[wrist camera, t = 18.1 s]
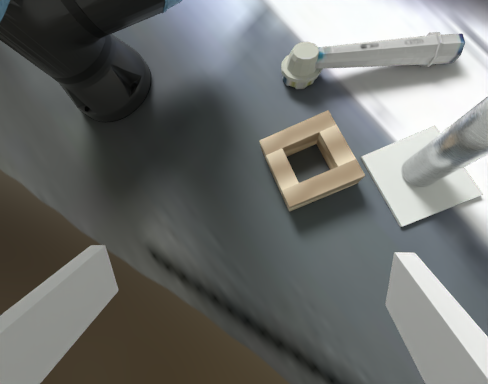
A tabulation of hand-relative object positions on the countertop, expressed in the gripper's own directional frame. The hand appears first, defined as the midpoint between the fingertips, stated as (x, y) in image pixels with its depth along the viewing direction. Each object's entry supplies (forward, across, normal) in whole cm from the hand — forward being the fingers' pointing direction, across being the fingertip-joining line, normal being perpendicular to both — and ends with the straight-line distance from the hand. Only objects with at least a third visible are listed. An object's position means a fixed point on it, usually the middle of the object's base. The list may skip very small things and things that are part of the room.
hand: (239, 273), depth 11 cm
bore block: (+28, +6, -3) cm, 29 cm away
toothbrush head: (+38, +15, +11) cm, 42 cm away
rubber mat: (+27, +21, -4) cm, 34 cm away
